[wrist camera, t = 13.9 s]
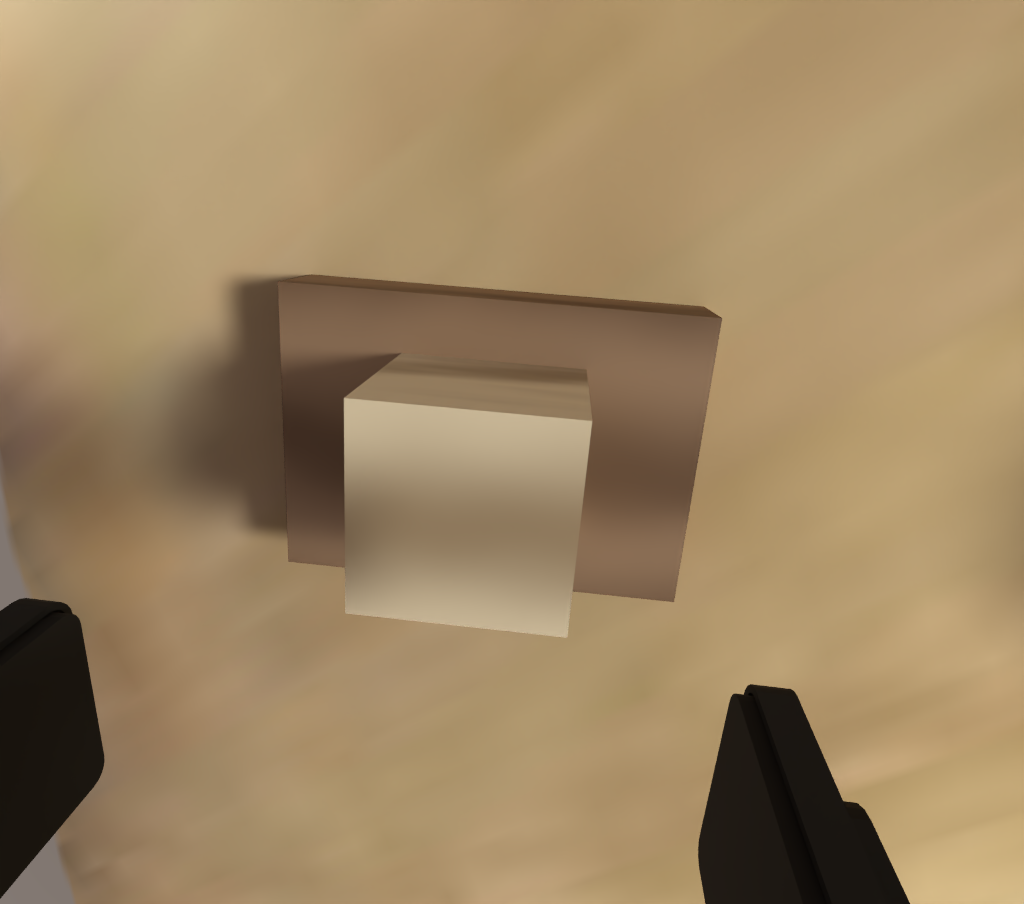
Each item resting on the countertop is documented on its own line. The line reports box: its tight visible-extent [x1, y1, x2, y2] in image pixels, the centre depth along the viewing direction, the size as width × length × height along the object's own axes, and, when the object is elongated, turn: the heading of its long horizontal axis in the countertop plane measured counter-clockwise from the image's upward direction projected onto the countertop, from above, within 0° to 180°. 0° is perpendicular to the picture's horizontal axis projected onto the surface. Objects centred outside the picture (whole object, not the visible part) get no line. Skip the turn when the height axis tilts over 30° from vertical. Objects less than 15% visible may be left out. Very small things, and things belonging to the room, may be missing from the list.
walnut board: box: [278, 275, 722, 602], centre depth 24 cm, size 10×14×3 cm
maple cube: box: [344, 353, 592, 638], centre depth 20 cm, size 6×6×6 cm
